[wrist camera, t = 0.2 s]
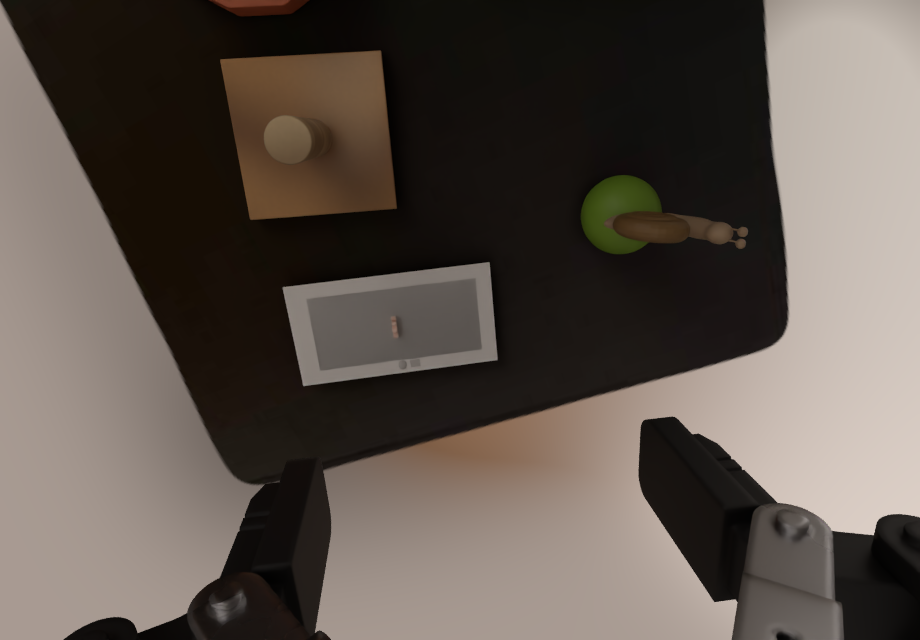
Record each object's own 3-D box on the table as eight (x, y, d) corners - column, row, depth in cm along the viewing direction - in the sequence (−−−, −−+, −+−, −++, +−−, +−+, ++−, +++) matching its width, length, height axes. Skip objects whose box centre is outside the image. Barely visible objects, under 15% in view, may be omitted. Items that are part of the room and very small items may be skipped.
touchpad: (285, 283, 41) (279, 291, 39) (487, 258, 42) (491, 265, 40) (305, 379, 43) (301, 392, 41) (495, 354, 44) (499, 365, 42)
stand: (225, 61, 36) (161, 36, 26) (381, 52, 36) (375, 24, 27) (254, 217, 39) (207, 246, 29) (397, 206, 40) (396, 230, 30)
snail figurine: (649, 245, 43) (741, 286, 31) (568, 246, 42) (631, 288, 31) (658, 172, 41) (758, 188, 30) (574, 172, 40) (643, 188, 29)
